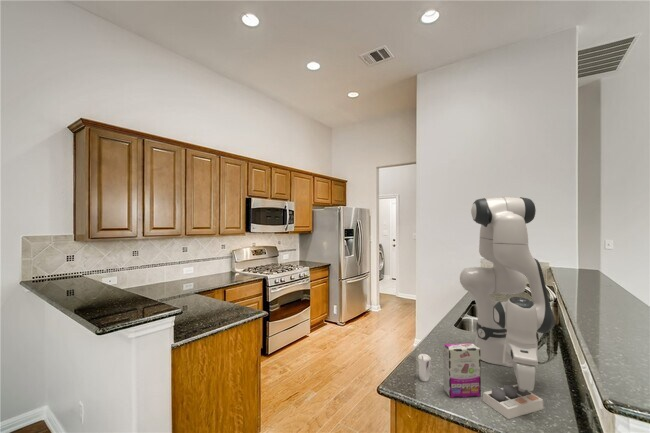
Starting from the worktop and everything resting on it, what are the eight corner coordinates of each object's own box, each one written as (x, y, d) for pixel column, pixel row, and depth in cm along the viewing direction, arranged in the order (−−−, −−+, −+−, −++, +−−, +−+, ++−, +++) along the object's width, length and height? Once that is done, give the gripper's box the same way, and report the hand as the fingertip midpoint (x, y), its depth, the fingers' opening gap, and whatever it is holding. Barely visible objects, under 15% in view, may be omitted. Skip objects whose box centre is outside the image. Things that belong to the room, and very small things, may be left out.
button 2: (519, 394, 100) (519, 385, 100) (530, 400, 97) (530, 391, 97) (511, 396, 99) (511, 387, 99) (522, 402, 95) (522, 393, 95)
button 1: (497, 395, 97) (497, 386, 97) (508, 402, 93) (508, 393, 93) (488, 397, 96) (488, 388, 96) (499, 404, 92) (499, 395, 92)
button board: (516, 393, 102) (516, 383, 102) (543, 409, 93) (543, 398, 93) (483, 401, 97) (483, 391, 97) (508, 419, 89) (508, 408, 89)
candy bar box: (472, 388, 104) (473, 342, 105) (481, 397, 99) (481, 348, 100) (442, 389, 104) (442, 343, 104) (449, 398, 99) (449, 349, 99)
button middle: (508, 392, 99) (508, 383, 99) (519, 399, 95) (519, 390, 95) (500, 395, 97) (500, 385, 97) (510, 401, 94) (510, 392, 94)
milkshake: (415, 381, 109) (415, 354, 109) (419, 374, 113) (420, 348, 113) (428, 385, 106) (428, 357, 106) (431, 378, 111) (432, 352, 111)
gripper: (506, 335, 109) (506, 372, 108) (514, 358, 90) (514, 403, 90) (527, 338, 106) (526, 376, 106) (539, 363, 87) (539, 409, 87)
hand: (521, 389), depth 98 cm, fingers closed, pressing on button 2
